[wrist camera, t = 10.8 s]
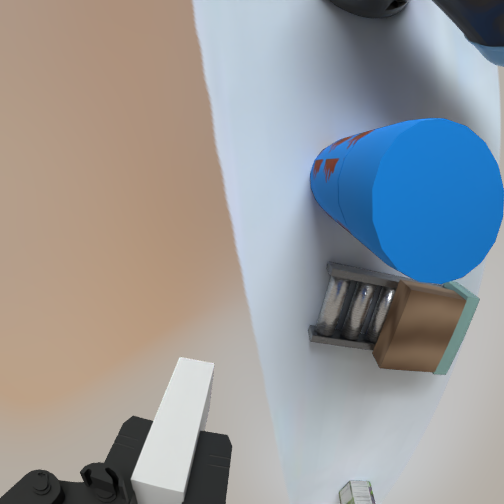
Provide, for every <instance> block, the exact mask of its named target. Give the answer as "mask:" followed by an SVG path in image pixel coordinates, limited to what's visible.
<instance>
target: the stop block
mask: <svg viewBox="0 0 504 504" xmlns="http://www.w3.org/2000/svg"><path fill="white" fill-rule="evenodd" d="M443 286H444V287H446V288H447V289H449V290H454V291H455V292H456V293H458V294H459V295H460V296H461V297H463V298H464V299H465V300H467V301H466V304H465V306H464V309H463V311H462V314H461V316H460V319H459V321H458V323H457V326H456V328H455V330H454V333H453V335H452V337H451V339H450V342H449V344H448V346H447V348H446V350H445V352H444V354H443V357H442V359H441V361H440V363H439V365H438V367H437V369H436V371H435V372H432V373H433V374H441V375H446V373H447V371H448V369H449V367H450V366H451V364H452V362H453V360H454V358H455V355H456V353H457V351H458V349H459V347H460V345H461V343H462V341H463V338H464V336H465V334H466V332H467V329H468V327H469V325H470V322H471V320H472V317H473V315H474V313H475V310H476V308H477V305H478V303H479V300H480V299H479V298H478V297H476V296H475V295H474V294H472V293H471V292H470V291H468V290H467V289H465V288H464V287H463V286H461V285H460V284H458V283H457V282H453V281H450V282H446V283H444V285H443Z"/></svg>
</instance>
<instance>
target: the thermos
mask: <svg viewBox="0 0 504 504" xmlns="http://www.w3.org/2000/svg"><path fill="white" fill-rule="evenodd" d="M310 179H311V189H312V192H313V194H314V196H315V199H316V201H317V202H318V203H319V205H320V206H321V207H322V208H323V209H324V210H325V211H326V213H327V214H328V215H329V216H330V217H331V218H333V219H334V220H335V221H336V222H337V223H339V224H340V225H341V226H342V227H343V228H345V229H346V230H347V231H348V232H349V233H351V234H352V235H353V236H354V237H355V238H357V239H358V240H359V241H360V242H361V243H362V244H364V245H365V246H366V247H367V248H368V249H369V250H371V251H372V252H373V253H374V254H375V255H376V256H378V257H379V258H380V259H381V260H382V261H383V262H384V263H386V264H387V265H389V266H390V267H392V268H394V269H396V270H398V271H399V272H401V273H403V274H405V275H406V276H408V277H410V278H412V279H414V280H416V281H418V282H424V283H435V284H443V283H446V282H450V281H453V280H456V279H459V278H462V277H464V276H465V275H466V274H467V273H469V272H470V271H471V270H473V269H474V268H475V267H476V266H478V265H479V264H480V263H481V262H482V261H483V259H484V258H485V256H486V255H487V253H488V252H489V250H490V249H491V247H492V246H493V244H494V243H495V240H496V237H497V234H498V231H499V228H500V225H501V222H502V218H503V206H504V188H503V184H502V179H501V175H500V171H499V167H498V164H497V162H496V160H495V158H494V157H493V155H492V153H491V151H490V150H489V148H488V146H487V145H486V143H485V142H484V141H483V140H482V139H481V138H480V137H479V136H477V135H476V134H475V133H474V132H473V131H472V130H471V129H469V128H468V127H467V126H465V125H462V124H459V123H456V122H453V121H450V120H447V119H443V118H426V119H417V120H409V121H404V122H400V123H397V124H393V125H389V126H385V127H382V128H378V129H375V130H371V131H367V132H364V133H360V134H357V135H354V136H350V137H347V138H343V139H340V140H338V141H336V142H335V143H333V144H331V145H330V146H328V147H327V148H325V149H323V150H322V151H321V153H320V154H319V155H318V157H317V158H316V159H315V160H314V163H313V167H312V170H311V173H310Z"/></svg>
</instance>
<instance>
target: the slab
mask: <svg viewBox="0 0 504 504" xmlns="http://www.w3.org/2000/svg"><path fill="white" fill-rule="evenodd" d="M466 301H467V300H465V299H464V298H463V297H461V296H460V295H459V294H458V293H456V292H455V291H454V290H449V289H445V288H440V287H435V286H431V285H426V284H421V283H416V282H412V281H407V280H402V279H400V281H399V284H398V286H397V289H396V292H395V295H394V298H393V301H392V304H391V306H390V309H389V312H388V315H387V317H386V320H385V322H384V325H383V328H382V330H381V333H380V335H379V338H378V340H377V343H376V345H375V348H374V350H373V352H372V354H373V356H374V358H375V360H376V362H377V364H378V366H379V368H384V369H395V370H407V371H422V372H435V371H436V369H437V367H438V365H439V363H440V361H441V359H442V357H443V354H444V352H445V350H446V348H447V346H448V344H449V342H450V339H451V337H452V335H453V333H454V330H455V328H456V326H457V323H458V321H459V319H460V316H461V314H462V311H463V309H464V306H465V304H466Z"/></svg>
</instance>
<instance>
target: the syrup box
mask: <svg viewBox="0 0 504 504" xmlns="http://www.w3.org/2000/svg"><path fill="white" fill-rule="evenodd" d="M339 498H340V504H375V500H374V496H373V492H372V488H371V484H370V482H369V481H349V482H348V483H347V484H346V485H345V486H344V487H343V489H342V490H341V491H340V492H339Z"/></svg>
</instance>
